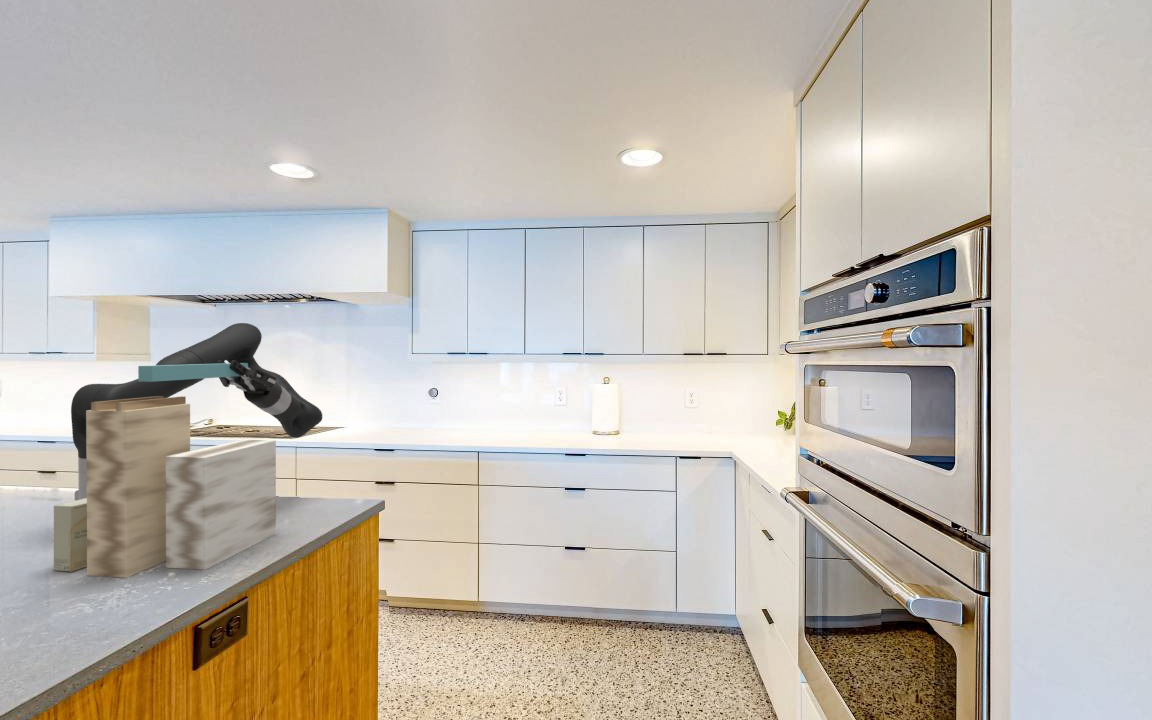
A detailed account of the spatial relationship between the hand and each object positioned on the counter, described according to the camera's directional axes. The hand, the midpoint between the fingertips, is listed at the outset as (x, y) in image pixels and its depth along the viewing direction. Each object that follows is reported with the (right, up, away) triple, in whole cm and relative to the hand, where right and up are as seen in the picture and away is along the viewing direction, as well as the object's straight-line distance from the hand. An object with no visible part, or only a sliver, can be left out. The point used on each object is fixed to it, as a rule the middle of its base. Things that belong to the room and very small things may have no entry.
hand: (225, 363), depth 126 cm
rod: (-1, -3, -7) cm, 8 cm away
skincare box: (-13, -38, -23) cm, 46 cm away
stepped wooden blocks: (+3, -38, -16) cm, 41 cm away
